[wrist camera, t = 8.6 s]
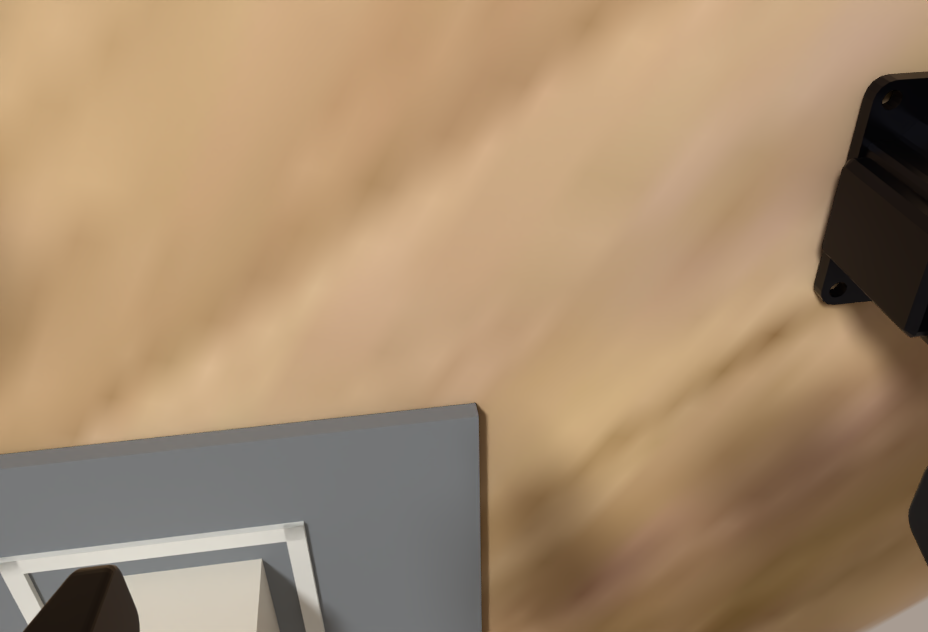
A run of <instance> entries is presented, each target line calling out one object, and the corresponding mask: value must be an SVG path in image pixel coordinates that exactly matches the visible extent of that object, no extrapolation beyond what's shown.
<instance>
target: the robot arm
mask: <svg viewBox="0 0 928 632" xmlns="http://www.w3.org/2000/svg"><path fill="white" fill-rule="evenodd" d="M892 90H893V95H892V97H891V98H890V99H889V100H888V101H887V102H886V103H884V104H882V100H883V98H884V96H885V95H886V94H887V93H888V92H890V91H892ZM822 249H823V253H822V257H821V261H820V265H819V269H818V272H817V276H816V280H815V284H814V290H815V292H816V294H817V295H818V296H819V297H820V298H821V299H822V301H823V302H825V303H827V304H832V305H835V304H845V303H855V302H865V301H873V302H874V303H875V304H876V305H877V306H878V307H879V308H880V309H881V310H882V311H883V312H884V313H885V314H886V315H887V316H888V317H889V318H890V319H891V320H892V321H893V322H894V323H895V324H896V325H897V326H898V327H899V328H900V329H901V330H902V331H903V332H904V333H905V334H906V335H907V336H909V337H910V338H911V337H921V338H922V339H923V340H924V341H925V342H926V343H927V344H928V72H915V73H900V74H888V75H884V76H881V77H879V78H878V79H876V80H875V81H873V82H872V83H871V85H870V86H869V87H868V88H867V90H866V93H865V95H864V98H863V102H862V106H861V109H860V113H859V117H858V121H857V125H856V128H855V132H854V136H853V140H852V143H851V147H850V151H849V155H848V159H847V162H846V164H845V166H844V167H843V169H842V172H841V176H840V180H839V184H838V188H837V191H836V195H835V199H834V203H833V207H832V210H831V214H830V218H829V222H828V226H827V230H826V233H825V237H824V241H823V245H822ZM836 283H839V284H838V285H837V286H836V287H835V288H834V289H831V287H832V286H833V285H835V284H836ZM908 517H909V524H910V528H911V531H912V533H913V535H914V538H915V540H916V542H917V544H918V546H919V548H920V550H921V553H922V555H923V557H924V559H925V561H926V563H927V565H928V466H927V467H926V469H925V471H924V473H923V476H922V478H921V481H920V483H919V485H918V488H917V490H916V493H915V495H914V498H913V500H912V502H911V505H910V508H909V514H908ZM23 632H140V623H139V616H138V612H137V609H136V606H135V604H134V601H133V599H132V596H131V594H130V591H129V589H128V587H127V584H126V582H125V579H124V577H123V574H122V572H121V571H120V569H119V568H118V567H117V566H115V565H110V564H109V565H101V566H93V567H85V568H80V569H77V570H76V571H74V572H73V573H71V574H70V575H69V576H68V577H67V579H66V580H65V581H64V582H63V583H62V585H61V586H60V587H59V588H58V589H57V591H56V592H55V593H54V594H53V596H52V597H51V598H50V599H49V600H48V602H47V603H46V604H45V605H44V606H43V608H42V609H41V610H40V611H39V612H38V614H37V615H36V616H35V617H34V618H33V620H32V621H31V622H30V623H29V625H28V626H27V627H26V628H25V629H24V631H23Z"/></svg>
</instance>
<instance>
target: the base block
mask: <svg viewBox="0 0 928 632" xmlns="http://www.w3.org/2000/svg"><path fill="white" fill-rule="evenodd" d="M123 577H124V579H125V582H126V584H127V587H128V589H129V591H130V594H131V596H132V599H133V601H134V604H135V606H136V609H137V612H138V616H139V623H140V632H280V630H279V626H278V622H277V618H276V614H275V610H274V606H273V602H272V598H271V594H270V590H269V586H268V582H267V577H266V573H265V569H264V565H263V561H262V559H255V560H247V561H239V562H231V563H223V564H215V565H207V566H199V567H191V568H183V569H175V570H167V571H159V572H151V573H143V574H135V575H127V576H123Z"/></svg>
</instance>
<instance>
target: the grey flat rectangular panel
mask: <svg viewBox="0 0 928 632" xmlns="http://www.w3.org/2000/svg"><path fill="white" fill-rule="evenodd" d="M255 559H262V561H263V565H264V569H265V573H266V577H267V582H268V586H269V590H270V594H271V598H272V602H273V606H274V610H275V614H276V618H277V622H278V626H279V630H280V632H482V614H481V544H480V473H479V416H478V411H477V407H476V403H471V404H462V405H453V406H443V407H434V408H425V409H416V410H407V411H397V412H388V413H379V414H370V415H361V416H351V417H342V418H333V419H324V420H314V421H305V422H296V423H287V424H278V425H268V426H259V427H250V428H241V429H231V430H222V431H213V432H204V433H195V434H185V435H176V436H167V437H158V438H149V439H139V440H130V441H121V442H112V443H102V444H93V445H84V446H75V447H66V448H56V449H47V450H38V451H29V452H19V453H10V454H1V455H0V632H23V631H24V629H25V628H26V627H27V626H28V625H29V623H30V622H31V621H32V620H33V618H34V617H35V616H36V615H37V614H38V612H39V611H40V610H41V609H42V608H43V606H44V605H45V604H46V603H47V602H48V600H49V599H50V598H51V597H52V596H53V594H54V593H55V592H56V591H57V589H58V588H59V587H60V586H61V585H62V583H63V582H64V581H65V580H66V579H67V577H68V576H69V575H70V574H71V573H73V572H74V571H76V570H77V569H80V568H85V567H93V566H101V565H109V564H110V565H115V566H117V567H118V568H119V569H120V571H121V572H122V574H123V576H127V575H135V574H143V573H151V572H159V571H167V570H175V569H183V568H191V567H199V566H207V565H215V564H223V563H231V562H239V561H247V560H255Z"/></svg>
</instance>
